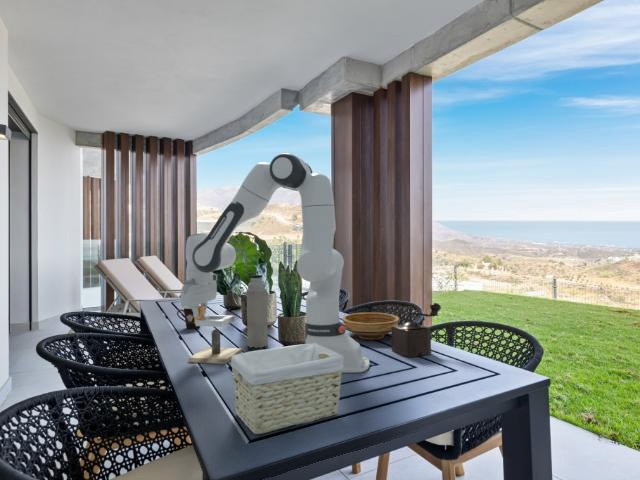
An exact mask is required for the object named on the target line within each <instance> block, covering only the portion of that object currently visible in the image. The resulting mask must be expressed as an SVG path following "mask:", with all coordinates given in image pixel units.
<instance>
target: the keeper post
mask: <svg viewBox="0 0 640 480" xmlns="http://www.w3.org/2000/svg"><path fill="white" fill-rule="evenodd" d="M241 353H243V348H241V347H239V348H238V347H237V348H236V347H221V332H220V330H219V329H217V328H216V329H213V330H212V331H211V346H207V347H205V348H204V349H201V350H200V351H198V352H196V353H195V354H192V355H191V356H189V357H188V363H202V364H203V363H204V364H221V365H226V364H228V363H229V362H230V361H231V357H232V356H233V355H237V354H241Z"/></svg>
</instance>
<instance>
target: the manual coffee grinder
mask: <svg viewBox="0 0 640 480" xmlns="http://www.w3.org/2000/svg"><path fill="white" fill-rule="evenodd" d="M429 308H430V310H431V311H430V313H427V314H426V313H423V312H421V313H420V312H413V307H411V306H409V307H408V312H407V313H408V316H409V318H408V319H409V320H408V321H406V322H403V324H398V325H397V326H392V332H391V352H393V353H395V354H398V355H400V356H403V357H405V358H409V359H410V358H417V357H422V356H426V355H429V354H432V340H431V338H432V337H431V335H432V334H431V332H432V331H431V327H427V326H424V325H420V324H419V323H418V322H416V321H413V316H420V317H421V316H422V317H427V318H430V317H432V318H434V317H438V316H439V315H438V313H439V312H440V311H441V309H442V306H441V304H440V303H436V302H432V303H430V304H429ZM412 315H413V316H412Z"/></svg>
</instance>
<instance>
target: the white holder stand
mask: <svg viewBox="0 0 640 480" xmlns="http://www.w3.org/2000/svg"><path fill="white" fill-rule="evenodd" d="M198 311H199V312H200V316H199V317H194V321H195V324H196V326H200V327H209V328H210V327H215V328H217V327H218V328H222V327H225V326H227V325H228V324H231V323H233V322H234V321H235V315H227V314H226V315H224V314H223V315H222V314H221V315H220V314H208V315H206V314H205V312H204V306H201V305H199V307H198Z"/></svg>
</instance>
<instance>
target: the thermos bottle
mask: <svg viewBox="0 0 640 480" xmlns="http://www.w3.org/2000/svg"><path fill="white" fill-rule="evenodd" d="M249 277H250V281H249V283H248V284H247V287H248V288H247V289H246V321H247V322H246V323H247V326H246V327H247V329H246V331H247V336H246V337H247V347H248V346H249V348H252V347H255V348H258V347H259V348H265V347H267V346H268V344H269V343H268V342H269V337H268V332H269V330H268V293H267V292H268V289H267V288H266V283H265V282H264V279H263V275H262V274H251V275H250V276H249ZM264 346H265V347H264ZM255 348H254V349H255Z"/></svg>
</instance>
